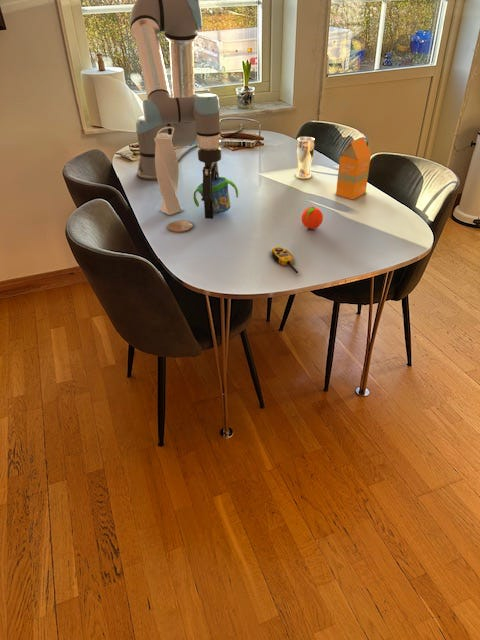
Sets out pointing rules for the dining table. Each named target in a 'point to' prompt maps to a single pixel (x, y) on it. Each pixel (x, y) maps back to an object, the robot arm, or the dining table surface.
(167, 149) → the skyscraper
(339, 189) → the orange juice
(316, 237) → the dining table surface
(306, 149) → the beer glass
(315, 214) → the clementine
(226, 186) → the snack cup
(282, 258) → the yellow walkie talkie
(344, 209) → the dining table surface
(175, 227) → the cork coaster
